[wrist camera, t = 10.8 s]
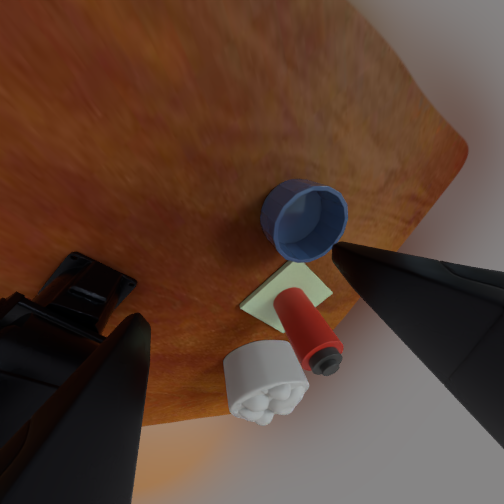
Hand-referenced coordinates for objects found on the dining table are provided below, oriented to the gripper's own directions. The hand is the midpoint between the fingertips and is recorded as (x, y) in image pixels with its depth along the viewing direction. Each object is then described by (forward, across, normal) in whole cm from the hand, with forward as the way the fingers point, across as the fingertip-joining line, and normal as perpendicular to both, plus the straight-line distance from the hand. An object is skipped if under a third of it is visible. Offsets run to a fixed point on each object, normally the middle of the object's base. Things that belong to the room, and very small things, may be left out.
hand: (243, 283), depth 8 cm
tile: (+13, -6, +17) cm, 22 cm away
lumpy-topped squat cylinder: (+13, +2, +30) cm, 33 cm away
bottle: (+12, -6, +17) cm, 22 cm away
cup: (+13, -8, +4) cm, 16 cm away
